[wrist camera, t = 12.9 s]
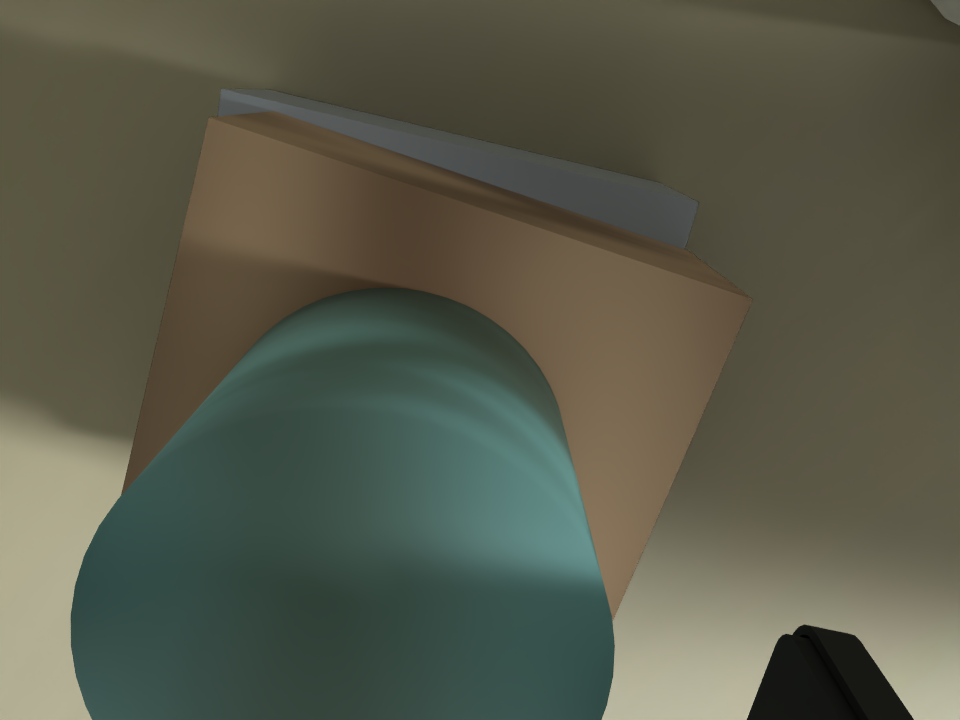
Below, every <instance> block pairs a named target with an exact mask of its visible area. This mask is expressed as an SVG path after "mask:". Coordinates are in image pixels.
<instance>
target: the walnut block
mask: <svg viewBox="0 0 960 720" xmlns="http://www.w3.org/2000/svg"><path fill="white" fill-rule="evenodd" d="M369 288H403V289H411V290H419V291H424V292H428V293H432V294H436V295H440V296H443V297H447V298H449V299H452V300H454V301H457V302H459V303H462V304H464V305H467V306H469V307H471V308H472V309H474V310H476V311H478V312H480V313H481V314H483V315H485V316H487V317H488V318H490V319H491V320H493V321H494V322H495V323H497V324H498V325H499V326H501V327H502V328H503V329H505V330H506V331H507V332H509V333H510V334H511V335H512V336H513V337H514V338H515V339H516V340H517V341H518V342H519V343H520V344H521V345H522V346H523V347H524V348H525V349H526V350H527V352H528V353H529V354H530V356H531V357H532V358H533V359H534V361H535V362H536V363H537V365H538V366H539V367H540V369H541V371H542V372H543V374H544V376H545V378H546V379H547V381H548V383H549V384H550V386H551V389H552V391H553V394H554V396H555V399H556V401H557V403H558V406H559V410H560V413H561V417H562V421H563V425H564V429H565V433H566V437H567V441H568V445H569V449H570V453H571V457H572V461H573V465H574V469H575V473H576V476H577V480H578V484H579V488H580V492H581V496H582V500H583V504H584V508H585V512H586V516H587V520H588V524H589V528H590V532H591V536H592V540H593V543H594V547H595V551H596V555H597V559H598V563H599V567H600V571H601V575H602V579H603V583H604V587H605V591H606V595H607V599H608V603H609V607H610V611H611V614H612V621H613V619H614V617H615V615H616V612H617V610H618V608H619V605H620V603H621V601H622V598H623V596H624V594H625V592H626V589H627V587H628V585H629V582H630V580H631V578H632V576H633V573H634V571H635V569H636V566H637V564H638V562H639V559H640V557H641V555H642V553H643V550H644V548H645V546H646V543H647V541H648V539H649V536H650V534H651V532H652V530H653V527H654V525H655V523H656V520H657V518H658V516H659V514H660V511H661V509H662V507H663V504H664V502H665V500H666V497H667V495H668V493H669V491H670V488H671V486H672V484H673V481H674V479H675V477H676V475H677V472H678V470H679V468H680V465H681V463H682V461H683V458H684V456H685V454H686V452H687V449H688V447H689V445H690V442H691V440H692V438H693V435H694V433H695V431H696V429H697V426H698V424H699V422H700V419H701V417H702V415H703V413H704V410H705V408H706V406H707V403H708V401H709V399H710V396H711V394H712V392H713V390H714V387H715V385H716V383H717V380H718V378H719V376H720V374H721V371H722V369H723V367H724V364H725V362H726V360H727V357H728V355H729V353H730V351H731V348H732V346H733V344H734V341H735V339H736V337H737V334H738V332H739V330H740V328H741V325H742V323H743V321H744V318H745V316H746V314H747V312H748V309H749V307H750V305H751V302H752V300H753V299H752V298H750V297H749V296H748V295H746V294H745V293H744V292H742V291H741V290H740V289H738V288H737V287H736V286H734V285H733V284H732V283H730V282H729V281H728V280H726V279H725V278H724V277H722V276H721V275H720V274H718V273H717V272H716V271H714V270H713V269H712V268H710V267H709V266H708V265H706V264H705V263H704V262H702V261H701V260H700V259H698V258H697V257H696V256H694V255H693V254H692V253H690V252H689V251H688V250H685V249H682V248H679V247H676V246H673V245H670V244H667V243H664V242H661V241H658V240H655V239H652V238H649V237H646V236H643V235H640V234H637V233H634V232H631V231H628V230H625V229H622V228H619V227H616V226H614V225H611V224H608V223H605V222H602V221H599V220H596V219H593V218H590V217H587V216H584V215H581V214H578V213H575V212H572V211H569V210H566V209H563V208H560V207H557V206H554V205H551V204H548V203H545V202H542V201H539V200H537V199H534V198H531V197H528V196H525V195H522V194H519V193H516V192H513V191H510V190H507V189H504V188H501V187H498V186H495V185H492V184H489V183H486V182H483V181H480V180H477V179H474V178H471V177H468V176H465V175H462V174H460V173H457V172H454V171H451V170H448V169H445V168H442V167H439V166H436V165H433V164H430V163H427V162H424V161H421V160H418V159H415V158H412V157H409V156H406V155H403V154H400V153H397V152H394V151H391V150H388V149H386V148H383V147H380V146H377V145H374V144H371V143H368V142H365V141H362V140H359V139H356V138H353V137H350V136H347V135H344V134H341V133H338V132H335V131H332V130H329V129H326V128H323V127H320V126H317V125H314V124H311V123H309V122H306V121H303V120H300V119H297V118H294V117H291V116H288V115H285V114H282V113H279V112H276V111H270V112H260V113H249V114H238V115H228V116H217V117H209V118H208V122H207V127H206V131H205V135H204V140H203V144H202V148H201V153H200V157H199V161H198V166H197V170H196V174H195V179H194V183H193V187H192V192H191V196H190V200H189V205H188V209H187V213H186V218H185V222H184V226H183V230H182V235H181V239H180V243H179V248H178V252H177V256H176V261H175V265H174V269H173V274H172V278H171V282H170V287H169V291H168V295H167V300H166V304H165V308H164V313H163V317H162V321H161V326H160V330H159V334H158V339H157V343H156V347H155V351H154V356H153V360H152V364H151V369H150V373H149V377H148V382H147V386H146V390H145V395H144V399H143V403H142V408H141V412H140V416H139V421H138V425H137V429H136V434H135V438H134V442H133V447H132V451H131V455H130V460H129V464H128V468H127V472H126V477H125V481H124V485H123V490H122V494H123V493H124V492H125V491H126V490H127V489H128V487H129V486H130V485H131V484H132V483H133V482H134V481H135V479H136V478H137V477H138V476H139V475H140V474H141V473H142V471H143V470H144V469H145V468H146V467H147V466H148V465H149V463H150V462H151V461H152V460H153V459H154V458H155V457H156V455H157V454H158V453H159V452H160V451H161V450H162V449H163V448H164V446H165V445H166V444H167V443H168V442H169V441H170V440H171V438H172V437H173V436H174V435H175V434H176V433H177V432H178V430H179V429H180V428H181V427H182V426H183V425H184V424H185V422H186V421H187V420H188V419H189V418H190V417H191V416H192V414H193V413H194V412H195V411H196V410H197V409H198V408H199V406H200V405H201V404H202V403H203V402H204V401H205V400H206V398H207V397H208V396H209V395H210V394H211V393H212V392H213V391H214V389H215V388H216V387H217V386H218V385H219V384H220V383H221V381H222V380H223V379H224V378H225V377H226V376H227V375H228V373H229V372H230V371H231V370H232V369H233V368H234V367H235V365H236V364H237V363H238V362H239V361H240V360H241V359H242V357H243V356H244V355H245V354H246V353H247V352H248V351H249V349H250V348H251V347H252V346H253V345H254V344H255V343H256V342H257V341H258V340H259V339H260V338H261V337H262V336H263V335H264V334H265V333H266V332H267V331H268V330H269V329H271V328H272V327H273V326H275V325H276V324H277V323H278V322H280V321H281V320H282V319H284V318H285V317H287V316H288V315H290V314H292V313H294V312H295V311H297V310H299V309H300V308H302V307H304V306H306V305H308V304H311V303H313V302H316V301H318V300H321V299H323V298H325V297H329V296H332V295H336V294H340V293H344V292H348V291H353V290H361V289H369ZM122 494H121V495H122Z"/></svg>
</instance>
